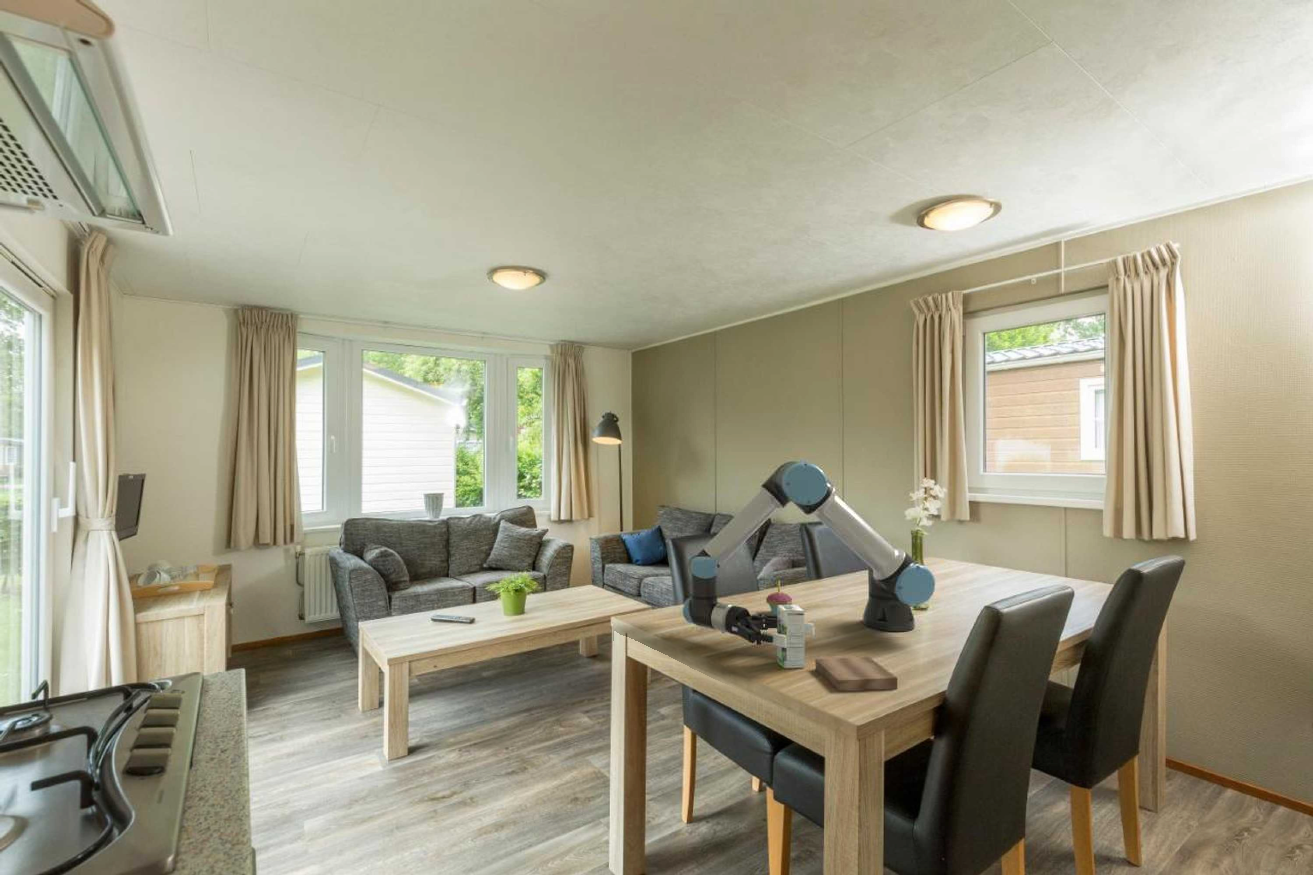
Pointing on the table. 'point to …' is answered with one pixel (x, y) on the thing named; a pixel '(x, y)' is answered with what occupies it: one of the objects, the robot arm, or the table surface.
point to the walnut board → (855, 674)
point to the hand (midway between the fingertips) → (800, 635)
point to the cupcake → (778, 600)
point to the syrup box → (791, 636)
